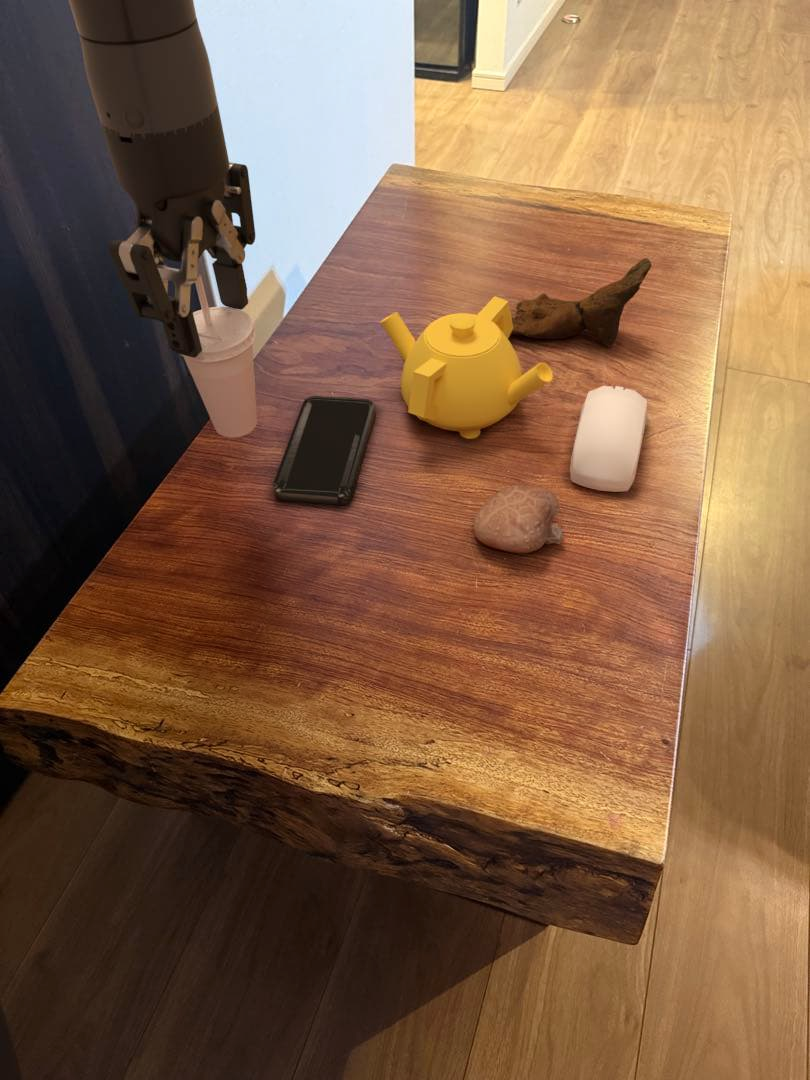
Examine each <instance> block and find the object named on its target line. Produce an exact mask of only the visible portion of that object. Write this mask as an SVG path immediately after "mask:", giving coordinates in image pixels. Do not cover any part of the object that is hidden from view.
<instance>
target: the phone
mask: <svg viewBox="0 0 810 1080" xmlns="http://www.w3.org/2000/svg"><path fill="white" fill-rule="evenodd" d="M375 416H376V410H375V403H374V401H373V400H371V399H367V398H354V397H341V396H340V397H339V396H337V397H336V396H327V395H326V396H324V395H311V396H308V397H306V398H305V399H304V401H303V402H302V404H301V408H300V410H299V413H298V416H297V418H296V421H295V424H294V427H293V429H292V432H291V435H290V437H289V440H288V443H287V444H286V448H285V450H284V453H283V456H282V458H281V461H280V464H279V466H278V469H277V472H276V474H275V478H274V481H273V484H272V489H273V493H274V497H276V499H277V500H280V501H285V502H297V503H298V502H299V503H307V504H318V505H319V504H320V505H330V506H343V505H346V504H348V503H349V502H351V500H352V498H353V494H354V490H355V487H356V483H357V479H358V476H359V472H360V469H361V465H362V462H363V460H364V459H363V458H364V455H365V452H366V448H367V444H368V440H369V437H370V433H371V430H372V426H373V423H374V419H375Z"/></svg>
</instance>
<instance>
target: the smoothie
mask: <svg viewBox="0 0 810 1080" xmlns="http://www.w3.org/2000/svg"><path fill="white" fill-rule="evenodd" d="M194 284H195V289H196V293H197V296H198V300H199V304H200V308H201V309H199V310H196V311H192V312H193V316H194V320H195V323H196V327H197V331H198V335H199V339H200V343H201V347H202V351H201V352H200V354H199V355H198V356H197V357H189V356H185V355H181V354H179V355H180V356H182V357H183V359H184V362H185V363H186V366H187V368H188V370H189V373H190V375H191V377H192V379H193V382H194V384H195V386H196V389H197V390H198V393H199V395H200V398H201V400H202V402H203V404H204V407H205V409H206V411H207V414H208V416H209V418H210V420H211V423H212V425H213V427H214V430H215V432H216V433H217V434H218V435H220V436H222V437H225V438H239V437H243V436H246V435H249V434H250V433H251V432H253V430H254V429H255V428H256V427H257V424H258V413H257V412H258V411H257V397H256V395H257V394H256V380H255V363H254V361H255V360H254V347H253V345H254V344H253V343H254V342H255V340H256V334H257V332H256V330H255V329H256V328H255V326H254V322H253V319H252V317H251V316H250V315H249V314H248V313H247V312H245V311H243V310H240V309H236V308H231V307H227V306H212V307H209V302H208V299H207V295H206V291H205V286H204V282H203V279H202V274H201V273H198V272H197V280H196V282H195V283H194Z"/></svg>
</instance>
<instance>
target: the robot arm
mask: <svg viewBox="0 0 810 1080" xmlns="http://www.w3.org/2000/svg"><path fill="white" fill-rule="evenodd" d="M68 3H69V5H70V10H71V13H72V16H73V19H74V24H75V27H76V29H77V32H78V37H79V41H80V45H81V50H82V56H83V57H82V58H83V63H84V69H85V74H86V78H87V81H88V85H89V86H88V87H89V89H90V92H91V96H92V99H93V102H94V106H95V109H96V113H97V115H98V119H99V122H100V126H101V130H102V132H103V136H104V139H105V142H106V146H107V149H108V152H109V156H110V159H111V162H112V166H113V170H114V173H115V177H116V179H117V182H118V184H119V186H120V187H121V188H122V189H123V190H124V191H125V192H126V193H127V195H128V196H129V197H130V199H131V200H132V201H133V203H134V206H135V212H136V213H135V228H136V230H135V231H134V232H133V233H132V234H131V236H129V237H128V238H127V239H126V240H119V239H113V240H112V241H111V242H110V244H109V248H108V249H109V251H108V252H109V254H110V257H111V260H112V262H113V264H114V267H115V269H116V271H117V273H118V276H119V278H120V281H121V283H122V285H123V287H124V290H125V292H126V295H127V298H128V299H129V302H130V304H131V307H132V309H133V311H134V313H135V315H136V316H137V317H139V318H145V319H150V320H155V321H159V322H161V323H162V325H163V329H164V333H165V335H166V339H167V342H168V346H169V348H170V349H171V350H172V352H175V353H176V354H178V355H180V354H181V355H180V356H182V355H185V356H189V357H197V356H198V355H199V354H200V352H201V351H202V347H201V343H200V339H199V335H198V331H197V327H196V323H195V320H194V316H193V312H194V311H193V310H190V309H191V293H192V292H191V290H192V285H193V284H195V282H196V280H197V273H198V272H199V271H198V268H199V260H200V258H201V256H203V254H204V252H205V251H206V252H207V253H208V254H209V256H210V257H211V258H212V259H215V260H214V262H212V263H211V265H212V269H213V273H214V278H215V282H216V287H217V291H218V296H219V300H220V303H221V304H222V305H223V307H231V308H235V309H238V310H241V311H243V309H245V308H246V306H248V305H249V297H248V287H247V282H246V278H245V271H244V267H243V266H244V265H243V263H244V261H245V259H246V250H245V248H246V246H247V245H250V246H251V245H253V244H254V243H255V242H256V228H255V221H254V212H253V204H252V203H253V202H252V193H251V186H250V185H251V184H250V176H249V169H248V166H247V165H246V164H243V163H237V162H230V160H229V154H228V150H227V149H228V148H227V143H226V138H225V133H224V129H223V124H222V117H221V113H220V107H219V103H218V98H217V93H216V87H215V83H214V78H213V73H212V72H213V71H212V67H211V62H210V59H209V53H208V51H207V47H206V45H205V42H204V38H203V35H202V32H201V29H200V25H199V22H198V18H197V13H196V7H195V3H194V0H68ZM233 214H236V215H237V216H238V217H239V224H240V225H234V219H233ZM165 259H166V260H169V261H172V262H176V263H177V262H178V263H181V265H180V266H181V267H180V269H179V268H174V267H169V266H167V265H166V263H165ZM169 281H170V282H173V284H174V296H170V295H169V294H168V291H169ZM0 1080H23V1076H22V1072H21V1068H20V1063H19V1060H18V1054H17V1051H16V1048H15V1044H14V1041H13V1038H12V1035H11V1032H10V1028H9V1025H8V1022H7V1018H6V1015H5V1011H4V1008H3V1005H2V1003H1V1002H0Z"/></svg>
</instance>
